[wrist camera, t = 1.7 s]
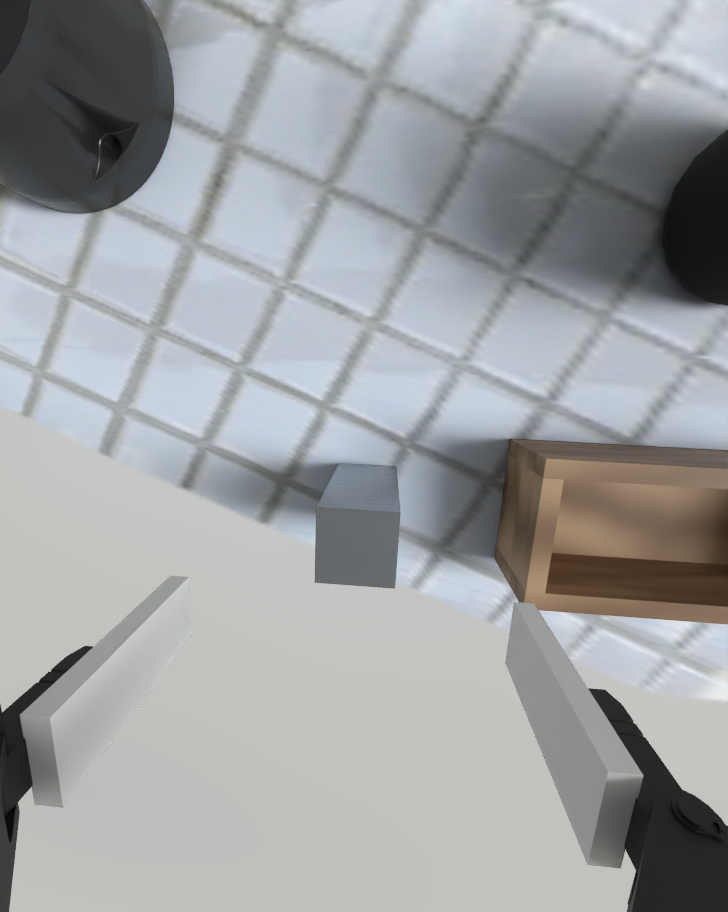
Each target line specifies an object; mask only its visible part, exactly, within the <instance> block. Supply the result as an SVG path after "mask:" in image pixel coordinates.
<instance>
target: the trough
mask: <svg viewBox="0 0 728 912" xmlns="http://www.w3.org/2000/svg"><path fill="white" fill-rule="evenodd" d="M495 560H496V562H497V564H498V565H499V567H500V569H501V571H502V573H503V574H504V576H505V578H506V580H507V581H508V583H509V585H510V587H511V588H512V590H513V592H514V594H515V595H516V597H517V599H518V601H519V602H521V603H534V604H535V606H536V608H537V609H538V610H545V611H558V612H571V613H584V614H598V615H611V616H624V617H637V618H651V619H664V620H677V621H690V622H704V623H717V624H728V451H726V450H708V449H690V448H671V447H653V446H635V445H617V444H598V443H580V442H562V441H543V440H525V439H510V444H509V452H508V459H507V467H506V475H505V482H504V490H503V498H502V505H501V513H500V521H499V528H498V536H497V543H496V551H495Z"/></svg>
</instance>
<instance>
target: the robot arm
mask: <svg viewBox="0 0 728 912" xmlns="http://www.w3.org/2000/svg"><path fill="white" fill-rule="evenodd" d="M173 109H174V85H173V75H172V68H171V63H170V59H169V55H168V51H167V47H166V44H165V41H164V38H163V36H162V33H161V31H160V28H159V26H158V24H157V22H156V20H155V18H154V16H153V14H152V12H151V11H150V9H149V7H148V6H147V4H146V3H145V1H144V0H0V184H1V185H2V186H4V187H6V188H7V189H9V190H11V191H13V192H15V193H18V194H20V195H22V196H24V197H26V198H28V199H30V200H32V201H34V202H36V203H38V204H41V205H43V206H45V207H48V208H51V209H55V210H59V211H64V212H71V213H88V212H95V211H100V210H103V209H107V208H109V207H112V206H114V205H116V204H118V203H120V202H122V201H123V200H125V199H127V198H128V197H129V196H131V195H132V194H133V193H135V192H136V191H137V190H138V189H139V188H140V187H141V186H142V185H143V184H144V183H145V182H146V180H147V179H148V178H149V177H150V175H151V174H152V172H153V171H154V169H155V168H156V166H157V164H158V163H159V161H160V159H161V156H162V154H163V152H164V149H165V147H166V144H167V141H168V138H169V134H170V129H171V124H172V118H173ZM191 637H192V631H191V612H190V594H189V578H188V577H179V576H170V577H169V578H168V579H167V580H166V581H164V582H163V583H162V584H161V585H160V586H159V587H158V588H157V589H156V590H155V591H154V592H153V593H152V594H150V595H149V596H148V597H147V598H146V599H145V600H144V601H143V602H142V603H141V604H139V606H137V607H136V608H135V609H134V610H133V611H132V612H131V613H130V614H129V615H128V616H126V618H124V619H123V620H122V621H121V622H120V623H119V624H118V625H117V626H116V627H115V628H113V629H112V630H111V631H110V632H109V633H108V634H107V635H106V636H105V637H104V638H103V639H102V640H100V641H99V642H98V643H97V644H96V645H95V646H94V647H91V646H84V647H82V648H81V649H79V650H77V651H75V652H74V653H72V654H70V655H68V656H67V657H66V658H64V659H63V660H62V661H61V662H60V663H59V664H57V665H56V666H55V667H54V668H53V669H52V671H51V672H48V673H47V674H46V675H45V676H44V677H42V678H41V679H40V681H39V683H36V684H34V685H33V686H32V687H31V688H30V689H29V690H28V691H27V692H25V693H24V694H23V695H22V696H21V697H20V698H18V699H17V700H16V701H15V702H14V703H13V704H12V705H11V706H9V707H8V708H7V709H6V710H5V711H4V712H2V711H1V706H0V912H9V905H10V896H11V886H12V878H13V868H14V859H15V850H16V840H17V831H18V822H19V813H20V812H19V807H18V801H19V800H20V799H21V798H22V797H23V796H24V794H25V793H26V792H27V791H28V790H29V789H30V788H31V786H32V791H33V797H34V802H35V804H36V805H44V806H54V807H64V806H65V804H66V803H67V802H68V800H69V799H70V798H71V796H72V795H73V794H74V792H75V791H76V790H77V788H78V787H79V786H80V784H81V783H82V782H83V780H84V779H85V778H86V776H87V775H88V774H89V772H90V771H91V770H92V768H93V767H94V766H95V764H96V763H97V761H98V760H99V759H100V757H101V756H102V755H103V754H104V752H105V751H106V750H107V749H108V747H109V746H110V745H111V743H112V742H113V741H114V739H115V738H116V736H117V735H118V734H119V732H120V731H121V730H122V729H123V727H124V726H125V724H126V723H127V722H128V721H129V719H130V718H131V716H132V715H133V714H134V713H135V711H136V710H137V708H138V707H139V706H140V705H141V703H142V702H143V701H144V699H145V698H146V697H147V695H148V694H149V693H150V691H151V690H152V689H153V687H154V686H155V685H156V683H157V682H158V681H159V679H160V678H161V677H162V675H163V674H164V673H165V671H166V670H167V669H168V667H169V666H170V665H171V663H172V662H173V661H174V659H175V658H176V657H177V655H178V654H179V653H180V651H181V650H182V649H183V647H184V646H185V645H186V643H187V642H188V640H189V639H190V638H191ZM506 665H507V668H508V670H509V673H510V675H511V677H512V680H513V682H514V685H515V687H516V690H517V692H518V695H519V697H520V700H521V702H522V704H523V707H524V710H525V712H526V714H527V717H528V719H529V722H530V724H531V727H532V729H533V731H534V734H535V737H536V739H537V742H538V744H539V746H540V749H541V751H542V754H543V756H544V759H545V761H546V764H547V766H548V768H549V771H550V773H551V776H552V778H553V781H554V783H555V786H556V788H557V791H558V793H559V796H560V798H561V801H562V803H563V805H564V808H565V810H566V813H567V815H568V818H569V820H570V822H571V825H572V827H573V830H574V832H575V835H576V837H577V840H578V842H579V845H580V847H581V850H582V852H583V855H584V857H585V860H586V862H587V864H588V865H594V866H603V867H612V868H621V865H622V861H623V857H624V852H625V849H626V851H627V853H628V855H629V857H630V859H631V861H632V863H633V865H634V867H635V869H636V873H635V877H634V881H633V885H632V889H631V893H630V897H629V901H628V909H627V912H728V826H726V825H725V824H724V822H723V821H722V819H721V818H720V817H719V816H718V815H717V814H716V813H715V812H714V811H713V810H712V809H711V808H710V807H709V806H708V805H707V804H705V803H704V802H703V801H701V800H700V799H698V798H697V797H695V796H694V795H692V794H690V793H687V792H686V791H683V790H682V789H681V787H680V786H679V785H678V783H677V782H676V780H675V779H674V778H673V776H672V775H671V773H670V772H669V771H668V769H667V768H666V766H665V765H664V763H663V762H662V761H661V759H660V758H659V756H658V755H657V754H656V752H655V751H654V749H653V748H652V747H651V745H650V744H649V742H648V741H647V740H646V738H644V737H643V734H642V732H641V731H640V730H639V728H638V727H637V726H636V724H634V723H633V720H632V718H631V717H630V715H629V714H628V713H627V711H626V710H625V708H624V707H623V706H622V705H621V703H620V702H618V701H617V700H616V699H615V698H614V697H613V696H611V695H610V694H609V693H608V692H607V691H606V690H601V689H589V688H587V686H586V685H585V683H584V682H583V680H582V678H581V677H580V675H579V674H578V672H577V671H576V669H575V667H574V666H573V664H572V663H571V661H570V659H569V658H568V656H567V655H566V653H565V652H564V650H563V648H562V647H561V645H560V644H559V642H558V641H557V639H556V637H555V636H554V634H553V633H552V631H551V630H550V628H549V626H548V625H547V623H546V622H545V620H544V619H543V617H542V615H541V614H540V612H539V611H538V609H537V608H536V606H535V604H534V603H521V602H514V606H513V613H512V620H511V627H510V634H509V642H508V648H507V655H506Z"/></svg>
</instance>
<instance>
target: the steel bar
mask: <svg viewBox="0 0 728 912" xmlns="http://www.w3.org/2000/svg"><path fill="white" fill-rule="evenodd" d="M399 524H400V503H399V492H398V481H397V470H396V466H379V465H362V464H345V463H339V464H338V466H337V468H336V470H335V472H334V474H333V476H332V478H331V480H330V482H329V484H328V485H327V487H326V489H325V491H324V493H323V495H322V497H321V499H320V501H319V503H318V505H317V507H316V548H315V552H316V553H315V583H328V584H343V585H356V586H369V587H383V588H395V580H396V566H397V552H398V538H399Z"/></svg>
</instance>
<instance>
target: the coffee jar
mask: <svg viewBox="0 0 728 912" xmlns="http://www.w3.org/2000/svg"><path fill="white" fill-rule="evenodd" d="M663 247H664V251H665V254H666V258H667V261H668V265H669V268H670V269H671V270H672V272H673V273H674V274H675V276H676V277H677V279H678V280H679V281H680V283H681V284H682V285H683V286H684V287H685V288H686V289H688V290H689V291H691V292H693V293H694V294H696V295H697V296H699V297H701V298H702V299H704V300H706V301H708V302H713V303H718V304H723V305H728V130H727V131H726V132H724V133H723V134H722V135H720V136H719V137H718V138H717V139H716V140H714V141H713V142H712V143H711V144H710V145H709V146H708V147H707V148H705V149H704V150H703V151H702V152H701V153H700V154H699V155H698V156H696V157H695V159H694V160H693V162H692V163H691V165H690V166H689V168H688V169H687V171H686V172H685V174H684V175H683V177H682V178H681V180H680V181H679V183H678V184H677V186H676V187H675V189H674V192H673V195H672V198H671V201H670V204H669V207H668V210H667V213H666V215H665V221H664V236H663Z"/></svg>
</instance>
